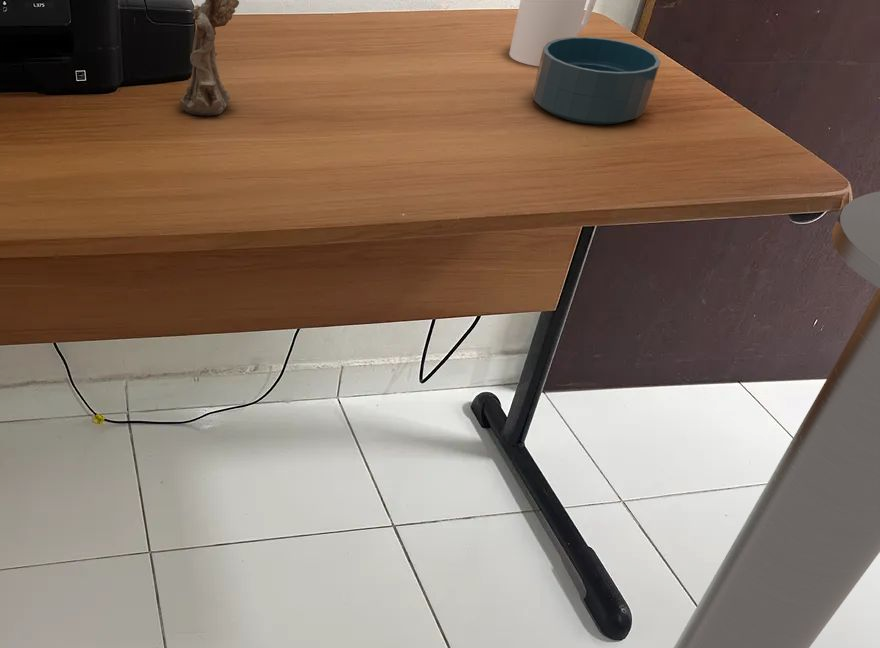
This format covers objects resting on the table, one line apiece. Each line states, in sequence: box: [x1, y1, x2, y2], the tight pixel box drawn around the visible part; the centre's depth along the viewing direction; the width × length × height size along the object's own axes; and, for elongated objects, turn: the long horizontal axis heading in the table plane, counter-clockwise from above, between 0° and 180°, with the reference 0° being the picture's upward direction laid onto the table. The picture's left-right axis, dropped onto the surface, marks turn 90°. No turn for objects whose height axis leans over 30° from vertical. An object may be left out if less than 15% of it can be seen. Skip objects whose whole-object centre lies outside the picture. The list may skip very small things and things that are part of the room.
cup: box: [508, 0, 597, 67], centre depth 119 cm, size 8×12×10 cm
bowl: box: [531, 36, 661, 125], centre depth 106 cm, size 13×13×6 cm
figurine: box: [179, 0, 240, 117], centre depth 100 cm, size 7×6×15 cm
